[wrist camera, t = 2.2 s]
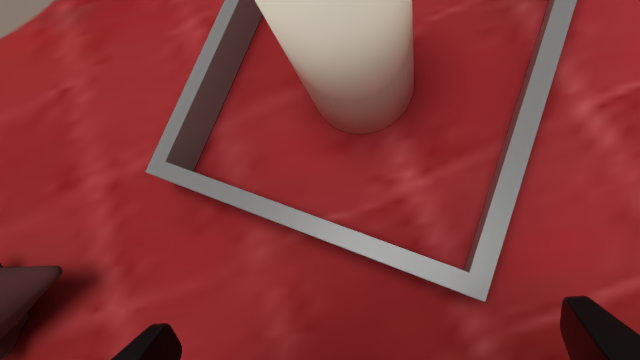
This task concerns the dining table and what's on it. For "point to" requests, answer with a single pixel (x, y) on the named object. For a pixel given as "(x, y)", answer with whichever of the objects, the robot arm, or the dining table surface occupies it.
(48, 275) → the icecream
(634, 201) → the dining table surface
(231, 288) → the dining table surface
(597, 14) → the dining table surface
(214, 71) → the frame
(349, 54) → the white pillar candle
